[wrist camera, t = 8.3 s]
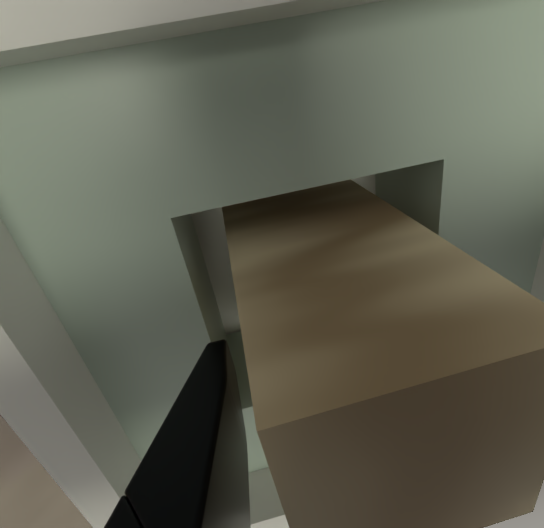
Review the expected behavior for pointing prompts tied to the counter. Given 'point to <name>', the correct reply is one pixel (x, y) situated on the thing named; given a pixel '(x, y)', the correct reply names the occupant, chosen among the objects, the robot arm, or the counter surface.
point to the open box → (228, 186)
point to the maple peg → (385, 365)
